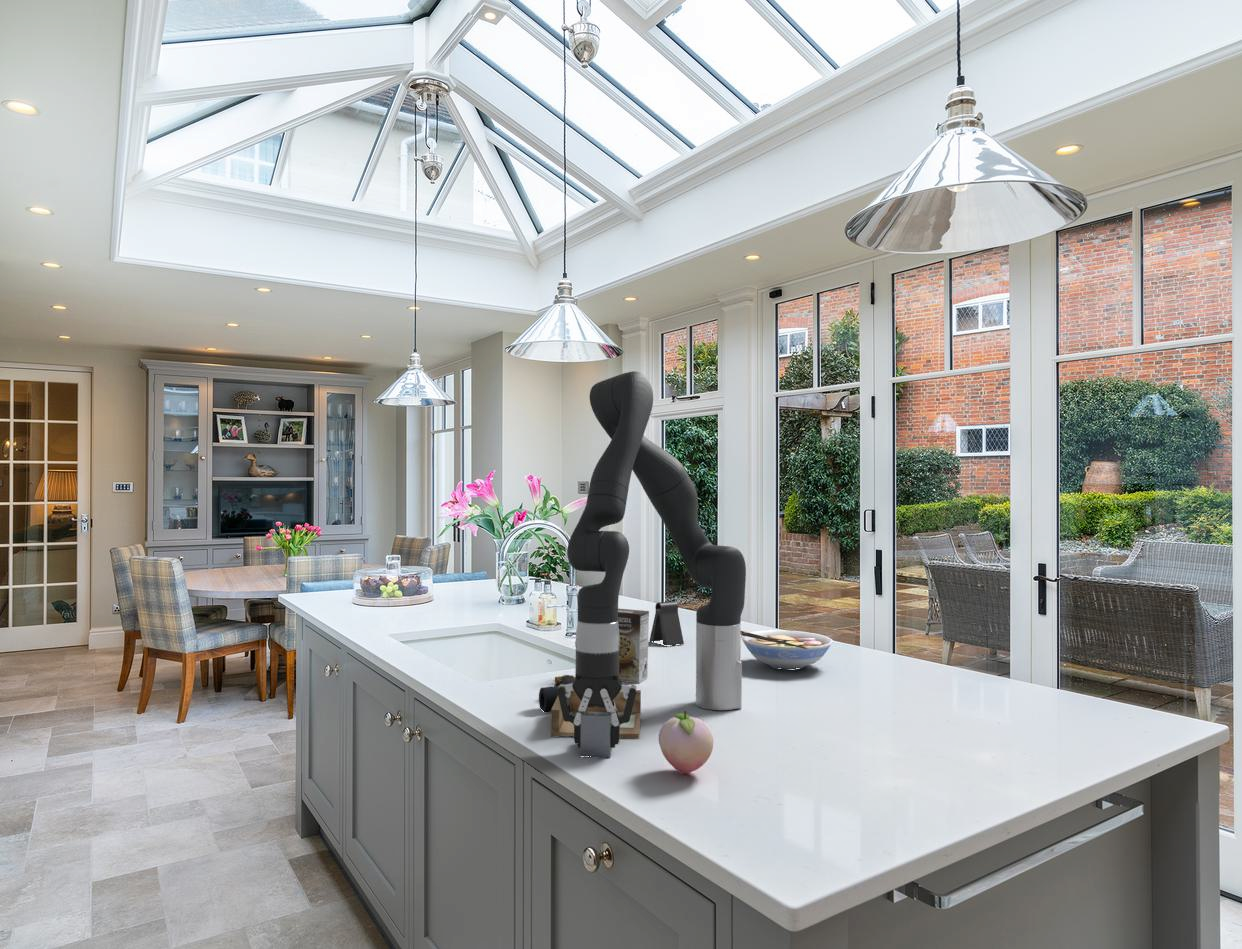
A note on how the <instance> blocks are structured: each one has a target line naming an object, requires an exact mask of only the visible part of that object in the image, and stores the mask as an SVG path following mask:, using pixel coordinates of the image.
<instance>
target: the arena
mask: <svg viewBox="0 0 1242 949" xmlns="http://www.w3.org/2000/svg"><path fill="white" fill-rule="evenodd" d="M641 692H642V690H641V689H640V690H639V689H637V690H636V696H635V700H634V704H633V708H632V712H631V716H630V720H629V722H628V723H622V724H621V725H620V739H640V728H641V715H642V713H641V711H642V710H641V709H642V704H641V702H642V700H641V699H642V698H641V697H642V696H641V695H642V694H641ZM623 695H624V694H623V692H622V691H620V692H619V693H618V695H617V696H616V697H615V699H614V702H615V705H616V709H617V712H618V715H620V714H623V713H624V710H625V705H626V701H627V699H625V698H624V696H623ZM568 699H569V703H570V708H571V712H572V713H574V714H577V711H578V708H579V706H580V703H581V700H580V698H579V697H578V696H577V694H576V693H575V691H574V690H572V691H571V695H570V697H568ZM585 712H603V713H608V712H607V709H606V708H601V707H598V706H595V707H588V706H587V708H586V710H585ZM611 723H612V722H611ZM551 736H574V724H573V723H571V722H569V721H568V722H566V721H564V719H563V715H562V711H561V706H560V701H559V697H557V699H556V701H555V703H554V705H553V707H552V709H551V712H550V737H551Z"/></svg>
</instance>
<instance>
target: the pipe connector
mask: <svg viewBox="0 0 1242 949" xmlns="http://www.w3.org/2000/svg"><path fill="white" fill-rule="evenodd" d="M574 680H575V675H571V674H570V675H569V674H564V675H561V676H554V686H547V687H546V686H545V687H541V688H540V689H539V691H538V704H539V708H541V709H542V710H543V711H544V712H547V713H551V709H552V707H553V705H554V703H555V701H556V699H557V697H558V692H557V689H558V687H559V685H560V684H565V685H566V684H571V683H573V682H574ZM541 709H540V710H541ZM543 711H542V712H543ZM544 712H543V713H544Z"/></svg>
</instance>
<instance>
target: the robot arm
mask: <svg viewBox="0 0 1242 949" xmlns="http://www.w3.org/2000/svg"><path fill="white" fill-rule="evenodd" d="M589 402H590V407H591V410H592V412H593V415H594V416H595V418H596V420H597V421H598V423H599V424H600V426H601V427H602V429H603V430H604V431H605V433H606V435H608V437H609V438H610V439H611V440H610V442H609V444H608V445H607V447H606V448H605V449H604V451H603V454H602V455H601V457H600V458H599V459H598V461H597V463H596V464H595V467H594V470H593V472H592V474H591V479H590V481H589V487H588V493H587V499H586V502H585V503H586V504H585V506H584V510H583V512H582V513H581V516H580V518H579V520H578V522H577V524H576V526H575V528H574V530H573V531H572V533H571V536H570V538H569V541H568V544H567V550H566V555H567V559H568V563H569V564H570V566H571V567H572V569H574V570H576V571H580V572H596V573H597V572H598V573H600V572H601V573H605V574H604V578H603V580H602V581H601V582H599V583H594V584H589V585H585V586H582V587H580V589H579V590H578V593H577V622H576V623H577V624H576V629H575V641H574V642H575V643H574V646H575V670H574V671H575V674H574V677H575V680H574V682H573V683H571V684H566V685H565V684H560V685H559V687H558V689H557V692H558V697H559V701H560V706H561V711H562V715H563V719H564V721H566V722H568V721H569V722H571V723H573V724H574V737H573V741H574V744H576V745H577V748H580V743H581V713H585V710H586V708H587V706H588V707H595V706H598V707H601V708H606V709H607V712H608V714H611V722H612V724H611V748H612V749H615V748H616V745H619V743H620V739H621V738H620V725H621V724H622V723H628V722H629V720H630V716H631V712H632V708H633V704H634V700H635V696H636V690H638V689H637V686H636V685H635V684H632V685H627V684H623V683H622V681H620V678H619V645H620V643H619V627H618V609H619V596H620V590H621V585H622V580H623V576H624V573H625V570H626V568H627V564H628V560H629V557H630V556H629V555H630V545H629V541H628V539H627V537H626V536H625V535H624V534H623V533H622V532H620V531H615V530H601V529H602V528H604V527H606V526H607V527H608V526H612V525H616V524H618V523H620V522H621V521H622V520H623V519H624V518H625V512H626V508H627V501H628V495H629V488H630V482H631V477H632V472H633V474H634V475H635V476H636V478H637V480H638V481H639V483H640V485H641V487H642V489H643V491H644V492H645V494H646V496H647V498H648V500H649V501H650V503H651V504H652V506H653V508H654V509H655V511H656V512H657V514H658V515H659V518H660V519H661V521H662V522H663V524H664V526H665V528H666V529H667V531H668V533H669V535H670V537H671V538H672V539H673V540H672V541H674V543H675V545H676V548H677V551H678V553H679V555H680V557H681V559H682V562H683V563H684V566H685V568H686V570H687V573H688V574H689V576H690V578H691V579H692V581H693V582H694V583H695V584H697V586H700V587H701V588H704V589H711V595H710V600H709V602H708V603H706V604H704V605H701V606H699V607H698V608H697V609H696V614H695V615H696V616H695V617H696V619H695V621H696V624H695V625H696V628H695V630H696V631H695V632H696V633H695V644H696V646H695V649H696V650H695V704H696V706H698V707H700V708H702V709H705V710H712V711H728V710H729V711H730V710H736V709H742V708H743V706H742V696H743V694H742V692H743V689H742V688H743V685H742V683H743V682H742V681H743V679H742V678H743V670H742V669H743V662H742V660H741V640H742V638H741V636H742V635H741V631H742V630H741V626H742V625H741V621H742V620H741V617H742V613H743V611H744V606H745V598H746V583H747V582H746V580H747V568H746V567H747V566H746V561H745V557H744V555H743V553H742V552H741V550H739V549H738V548H736V547H735V546H734V547H733V546H730V545H729V546H728V545H717V544H713V543H712V542H711V541H710V540H709V539H708V537H707V536H706V535H705V534H706V533H704V531H703V529H702V527H701V525H700V523H699V519H698V518H699V517H698V509H699V501H698V500H699V499H698V498H699V496H698V492H697V489H696V487H695V485H694V483H693V481H692V479H691V478H690V476H689V473H688V472H687V471H686V469H685V466H684V465H683V464H682V463H681V461H679V459H677V458H676V457H675V456H674V455H672V454H671V453H669V452H668V451H667V450H665V449H663V448H662V447H660V446H659V445H657V444H655V443H654V442H653V441H651V440H650V439H648V438H647V437H646V436H645V432H646V430H647V429H646V428H647V426H648V423H649V420H650V416H651V414H652V410H653V406H654V390H653V388H652V385H651V383H650V381H649V380H648V378H647V376H646V375H644V374H643V373H641V372H639V371H636V370H635V371H627V372H624V373H620V374H618V375H616V376H612V377H609V378H607V379H604V380H600V381H599V382H596V383H595V384H593V386H591V389H590V391H589ZM572 690H574V691H575V693H576V694H577V696H578V697H579V698H580V700H581V703H580V706H579V708H578V711H577V714H574V713H572V712H571V708H570V703H569V699H568V697H570V695H571V691H572ZM620 691H622V692H623V694H624V695H623V696H624V698H625V699H627V701H626V705H625V710H624V713H623V714H620V715H618V712H617V709H616V705H615V702H614V699H615V697H616V696H617V695H618V693H619V692H620Z"/></svg>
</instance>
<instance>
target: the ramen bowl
mask: <svg viewBox="0 0 1242 949" xmlns="http://www.w3.org/2000/svg"><path fill="white" fill-rule="evenodd" d="M741 640H742V641H743V644H744V645H745V647H746V648H747V650H748V651H749V653H750V654H751V655H752V656H753V657H754V658H755V659H756V660H758V661H759V662H762V663H764V664H767V665H769V666H770V667H771V666H772V667H771V668H773V667H775V668H774V669H776V668H781V669H796V668H801V667H802V668H804V667H806V666H810V665H812V664H815V663H817V662H818V661H820V660H821V659H822V658H823V657H824V655H826V653H827V652H828V650H829V649H830V648H831V645H832V643H833V641H834V640H833V639H832V638H830V637H828V635H827V636H826V635H823V634H819V633H813V632H807V631H803V630H802V631H801V630H800V631H799V630H786V629H783V630H782V629H781V630H780V629H777V630H775V629H773V630H772V629H771V630H770V629H767V630H755V631H750V632H747V631H744V630H741ZM802 668H801V669H802Z"/></svg>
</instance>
